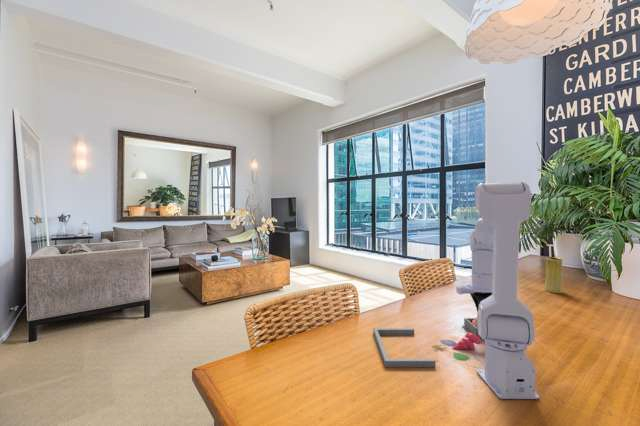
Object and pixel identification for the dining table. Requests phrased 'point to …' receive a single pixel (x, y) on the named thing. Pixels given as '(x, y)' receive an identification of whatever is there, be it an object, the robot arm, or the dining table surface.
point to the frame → (399, 362)
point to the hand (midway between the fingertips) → (482, 317)
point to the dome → (475, 321)
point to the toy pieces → (460, 345)
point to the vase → (553, 275)
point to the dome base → (470, 326)
